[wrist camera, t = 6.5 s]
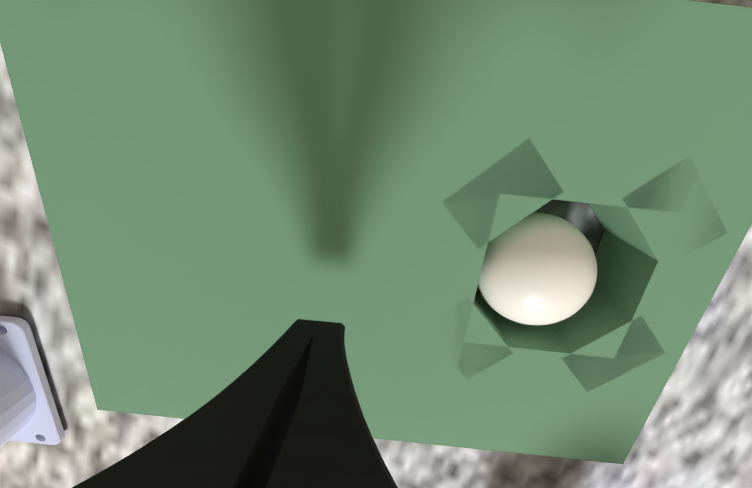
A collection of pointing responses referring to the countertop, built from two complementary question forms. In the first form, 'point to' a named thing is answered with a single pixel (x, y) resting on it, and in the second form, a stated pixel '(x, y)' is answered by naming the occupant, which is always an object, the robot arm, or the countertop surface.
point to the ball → (538, 270)
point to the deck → (387, 196)
